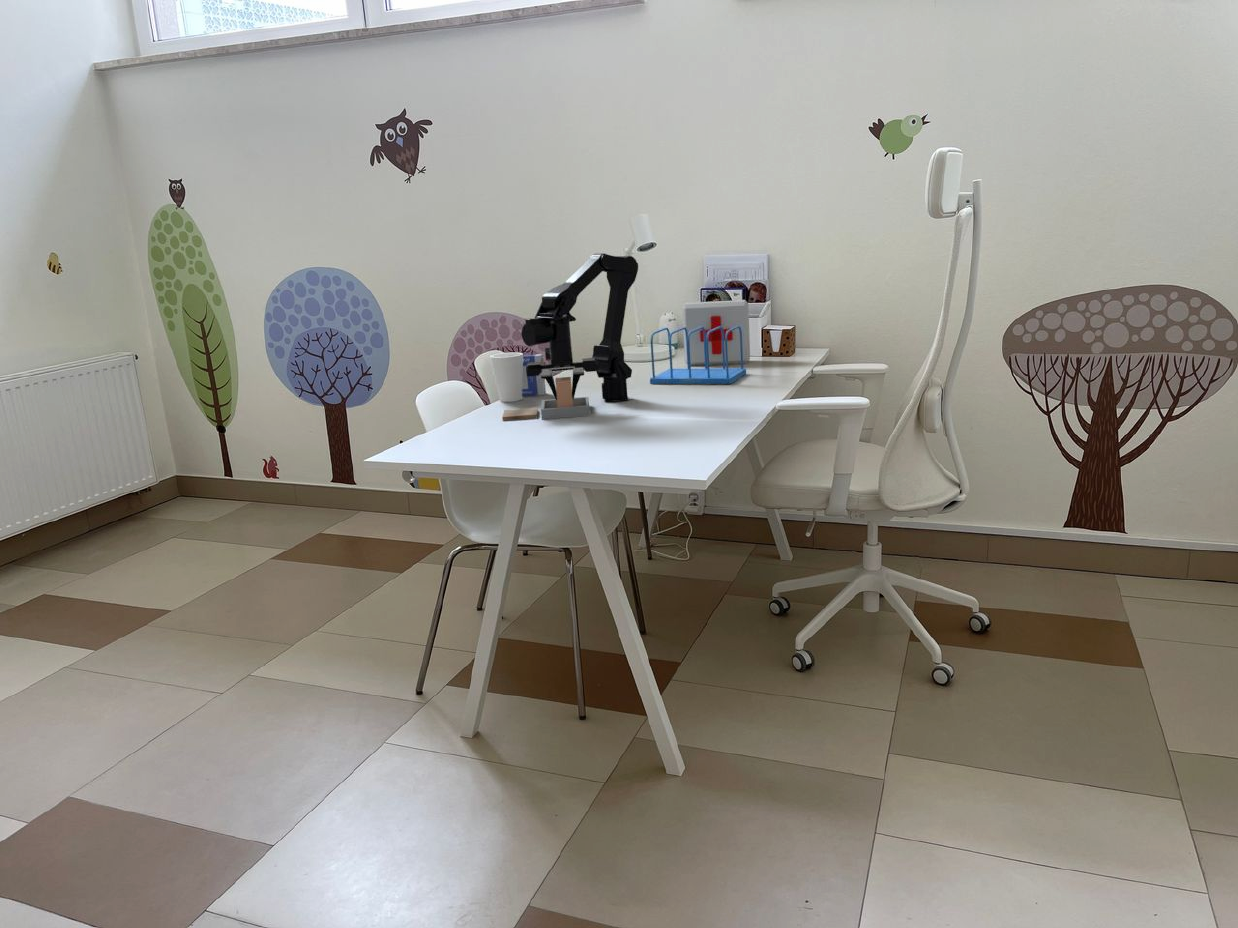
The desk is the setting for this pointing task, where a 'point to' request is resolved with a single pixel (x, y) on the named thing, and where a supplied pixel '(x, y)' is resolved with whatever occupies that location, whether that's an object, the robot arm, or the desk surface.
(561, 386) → the block
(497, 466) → the desk surface
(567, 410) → the tray
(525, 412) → the coaster
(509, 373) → the foam cup
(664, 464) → the desk surface
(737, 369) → the file sorter
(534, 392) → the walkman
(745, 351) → the bevelled white case
